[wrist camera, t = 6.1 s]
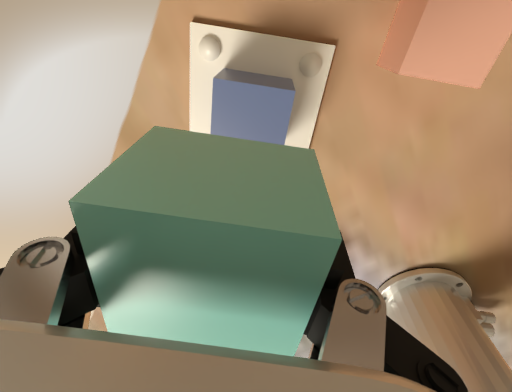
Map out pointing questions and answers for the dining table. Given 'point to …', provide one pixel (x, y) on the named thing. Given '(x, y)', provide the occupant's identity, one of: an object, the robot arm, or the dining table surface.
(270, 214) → the teal brick
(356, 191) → the dining table surface
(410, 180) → the dining table surface
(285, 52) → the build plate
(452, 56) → the coral brick
